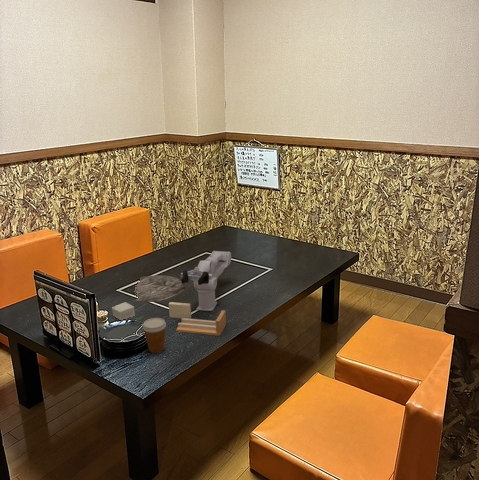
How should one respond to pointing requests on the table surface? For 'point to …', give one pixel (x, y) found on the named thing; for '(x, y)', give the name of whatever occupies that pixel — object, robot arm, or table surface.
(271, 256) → the table surface
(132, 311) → the small box
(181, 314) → the door panel
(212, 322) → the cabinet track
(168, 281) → the grey fur rug
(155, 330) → the disposable coffee cup
